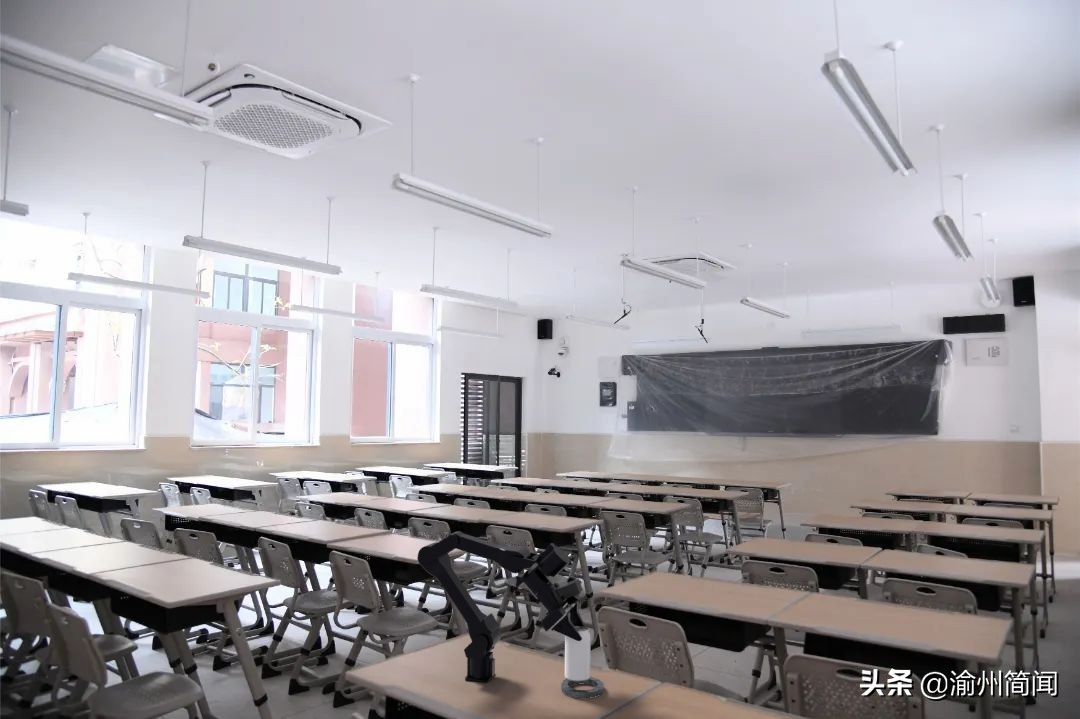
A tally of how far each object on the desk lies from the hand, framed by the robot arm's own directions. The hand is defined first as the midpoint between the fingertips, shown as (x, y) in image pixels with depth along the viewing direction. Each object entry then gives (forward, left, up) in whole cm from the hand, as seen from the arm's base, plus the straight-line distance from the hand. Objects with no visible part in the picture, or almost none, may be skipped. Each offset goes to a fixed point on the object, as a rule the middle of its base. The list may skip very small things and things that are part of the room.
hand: (583, 636), depth 176 cm
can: (-1, -1, -10) cm, 10 cm away
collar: (0, 0, -13) cm, 13 cm away
